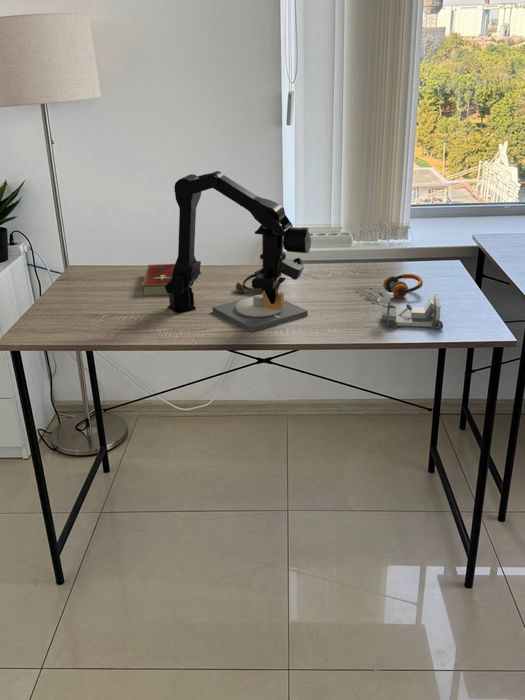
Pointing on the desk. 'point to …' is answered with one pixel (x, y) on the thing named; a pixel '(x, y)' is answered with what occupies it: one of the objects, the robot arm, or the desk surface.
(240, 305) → the dial
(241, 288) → the brown curved looped piece
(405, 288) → the headphones
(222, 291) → the desk surface
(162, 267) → the hardcover book
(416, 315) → the toy car
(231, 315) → the dial board
